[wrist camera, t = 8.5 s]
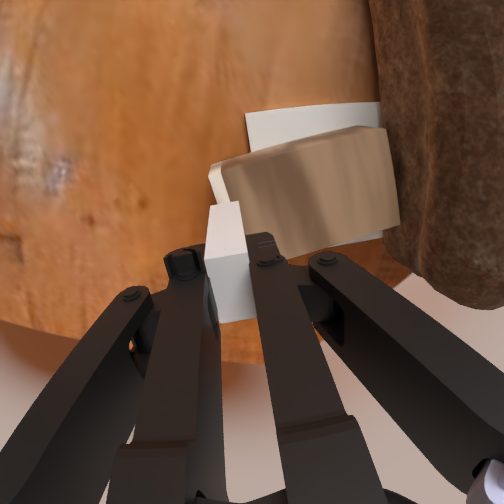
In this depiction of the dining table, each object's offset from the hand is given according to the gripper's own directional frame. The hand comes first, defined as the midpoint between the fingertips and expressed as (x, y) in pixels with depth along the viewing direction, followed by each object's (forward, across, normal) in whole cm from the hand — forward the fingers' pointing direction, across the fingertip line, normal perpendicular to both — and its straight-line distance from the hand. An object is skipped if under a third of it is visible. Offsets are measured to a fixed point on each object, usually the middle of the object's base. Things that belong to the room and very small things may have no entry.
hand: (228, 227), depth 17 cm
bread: (+9, +20, +7) cm, 23 cm away
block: (+6, 0, -1) cm, 6 cm away
